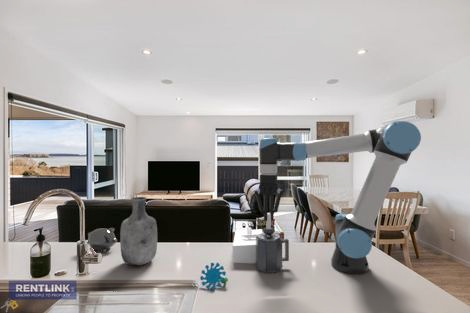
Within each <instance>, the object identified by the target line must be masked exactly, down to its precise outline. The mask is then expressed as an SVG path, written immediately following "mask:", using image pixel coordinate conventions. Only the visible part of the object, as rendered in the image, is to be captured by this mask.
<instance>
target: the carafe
mask: <svg viewBox="0 0 470 313" xmlns="http://www.w3.org/2000/svg"><path fill="white" fill-rule="evenodd" d="M289 242H290V241H289V238H284V239H283V238H282V237H281V236H280V234H279V233H276V232H274V234H271V235H270V237H268V235H266V234H265V233H264V232H262V233H260V234H258V235H257V237H256V263H255V266H256V270H257V271H258V272H260V273H263V274H268V275H269V274H277V273H279V272H281V271H282V270H283V269H282V268H283V262H289V261H290V260H289V259H290V249H289V248H290V243H289ZM283 244H284V256H283Z"/></svg>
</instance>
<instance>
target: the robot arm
mask: <svg viewBox="0 0 470 313" xmlns="http://www.w3.org/2000/svg"><path fill="white" fill-rule="evenodd" d="M421 135H422V134H421V131H420V130H419V128H418V127H417V126H416V125H415V124H414V123H412V122H409V121H405V120H397V121H393V122H391V123H389V124H387V125H384V126H382V127H379V128H376V129H369V130H366V132H365V133H360V134H351V135H345V136H337V137H330V138H324V139H317V140H310V141H303V142H300V141H299V142H297V141H296V142H278V138H275V137H274V138H273V137H272V138H271V137H268V138H267V137H266V138H265V137H264V138H261V139H260V140H259V173H260V174H259V186H258V187H257V189H254V190H253V193H254V194H255V197H256V201H257V204H258V205H257V206H258V209H259V211H260V213H262V214H263V221H264V222H265V225H266V226H265V228H267V229H271V228H272V222H273V221H274V214H275V213H278V210H279V206H280V202H281V197H282V195H283V193H284V192H285V191H284V190H283V189H281V188H280V187H279V185H278V175H277V174H278V161H297V162H300V161H305V160H306V159H312V158H320V157H328V156H337V155H343V154H344V155H345V154H351V153H352V154H353V153H359V152H360V153H361V152H369V153H370V154H372V153H374V156H375V158H374V159H373V162H372V165H371V167H370V169H369V172H368V174H367V176H366V179H365V181H364V183H363V186H362V188H361V190H360V193H359V194H358V197H357V200H356V202H355V203H354V206H353V208H352V210H351V213H338V214H336V215H335V219H334V222H335V247H334V250H333V253H332V257H331V260H330V261H331V263H330V264H331V266H332V267H333V268H334V269H335V270H337V271H340V272H343V273H346V274H351V275H363V274H366V273H367V272H369V268H370V266H369V262H368V259H367V256H368V254H370V252H371V251H372V248H373V241H372V240H373V238H374V236H375V233H376V231H377V228H376V225H375V223H376V220H377V217H378V215H379V213H380V211H381V210H382V209H381V208H382V206H383V204H384V202H385V200H386V198H387V195H388V193H389V191H390V189H391V187H392V184H393V182H394V180H395V178H396V176H397V173H398V171H399V169H400V167H401V165H404V164H406V163H408V160H409V159H410V157H411V154H412V152H414V151H415V150H416V149H418V147H419V146H420V143H421V140H422V136H421ZM260 193H261V194H262V196H263V204H262V200H261V196H260ZM276 193H277V194H276ZM275 194H276V197H275V202H274V196H275ZM268 198H269V207H268ZM268 208H269V210H268Z"/></svg>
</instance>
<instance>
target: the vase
mask: <svg viewBox="0 0 470 313" xmlns="http://www.w3.org/2000/svg"><path fill="white" fill-rule="evenodd" d="M146 201H147V197H145V196H137V197H135V196H134V197H131V199H130V202H131V204H132V212H131V214H130V215H129V217H127V218H126V219H124V220H123V221H122V223H121V225H120V233H119V234H120V235H119V237H120V239H119V243H120V253H121V254H120V256H121V258H122V261H123V262H124V263H125V264H127V265H131V266H142V265H145V264H148V263H149V262H151V261H152V260H154V258H155V256H156V255H157V250H158V225H157V220H156V218H154V217H153V216H150V215H148V213H147V212H146Z"/></svg>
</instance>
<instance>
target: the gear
mask: <svg viewBox="0 0 470 313" xmlns="http://www.w3.org/2000/svg"><path fill="white" fill-rule="evenodd" d="M218 267H219V268H218ZM204 268H205V269H206V271H205V270H204V269H202V270H201V274H202V275H201V276H200V278H199V280H201V281H202V282H201V285H202V287H204V286H205V288H206V289H207V290H210V288H211V290H216V284H217V288H221V287H222V285H226V284H227V282H229V278H228V277H223V276H226V275H227V274H226V273H227V272H226V271H224V270H225V268H224V265H220V263H219V262H216V264H215V262H211V263H210V266H209V264H206V265H205V267H204ZM220 270H221V271H220ZM221 275H223V276H221ZM204 280H205V281H204Z"/></svg>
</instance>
